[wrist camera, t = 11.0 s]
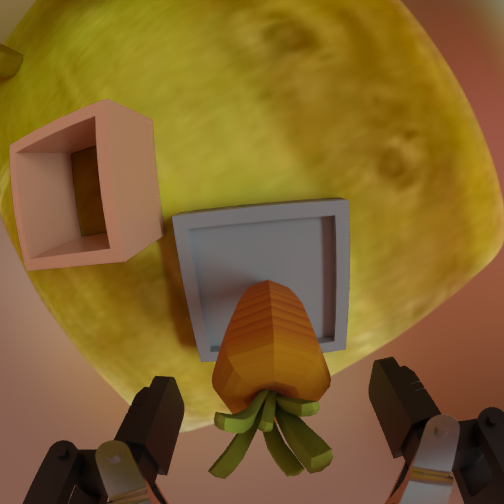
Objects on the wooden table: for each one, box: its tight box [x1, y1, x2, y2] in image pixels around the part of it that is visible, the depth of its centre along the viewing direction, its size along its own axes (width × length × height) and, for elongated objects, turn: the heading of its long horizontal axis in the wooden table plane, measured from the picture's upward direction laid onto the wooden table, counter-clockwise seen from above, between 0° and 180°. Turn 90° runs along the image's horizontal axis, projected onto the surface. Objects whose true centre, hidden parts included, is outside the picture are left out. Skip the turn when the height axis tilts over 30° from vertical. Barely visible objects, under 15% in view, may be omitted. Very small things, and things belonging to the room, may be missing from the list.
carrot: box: [209, 279, 333, 479], centre depth 13 cm, size 5×5×15 cm
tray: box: [172, 198, 350, 362], centre depth 20 cm, size 12×12×2 cm
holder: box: [10, 99, 165, 271], centre depth 16 cm, size 9×9×7 cm
